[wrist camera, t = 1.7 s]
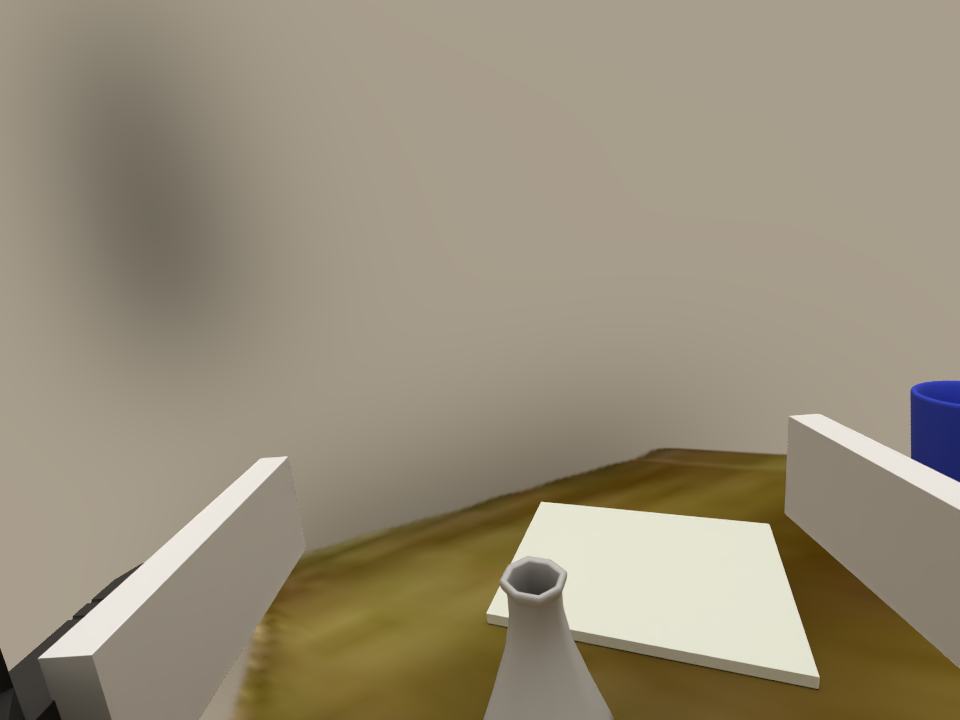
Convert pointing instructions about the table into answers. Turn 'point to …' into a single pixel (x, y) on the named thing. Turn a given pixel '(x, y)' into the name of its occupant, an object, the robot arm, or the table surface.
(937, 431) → the mug
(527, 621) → the flask
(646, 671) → the table surface
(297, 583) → the table surface
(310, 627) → the table surface
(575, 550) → the white rectangular board
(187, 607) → the robot arm
